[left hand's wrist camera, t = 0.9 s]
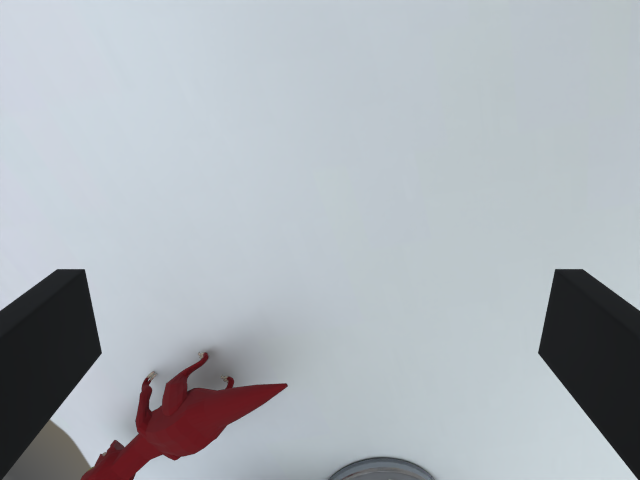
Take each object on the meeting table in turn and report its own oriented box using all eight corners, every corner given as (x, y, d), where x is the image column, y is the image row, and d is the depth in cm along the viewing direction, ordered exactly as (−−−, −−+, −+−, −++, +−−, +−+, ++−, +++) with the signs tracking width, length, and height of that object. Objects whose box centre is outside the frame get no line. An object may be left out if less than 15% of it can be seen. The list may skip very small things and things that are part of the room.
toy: (158, 346, 53) (52, 464, 44) (271, 331, 34) (126, 531, 25) (200, 385, 55) (107, 505, 46) (328, 391, 36) (213, 596, 27)
